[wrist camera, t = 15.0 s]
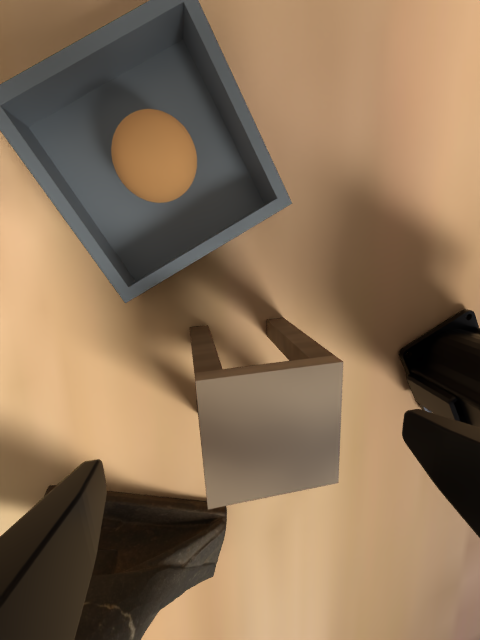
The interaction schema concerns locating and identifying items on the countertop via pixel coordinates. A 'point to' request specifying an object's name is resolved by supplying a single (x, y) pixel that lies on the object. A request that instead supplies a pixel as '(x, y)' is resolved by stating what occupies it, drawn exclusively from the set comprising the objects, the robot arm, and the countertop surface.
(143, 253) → the tray
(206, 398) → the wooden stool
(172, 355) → the countertop surface
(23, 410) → the countertop surface
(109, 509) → the sculpture
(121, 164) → the ball
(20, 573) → the robot arm
